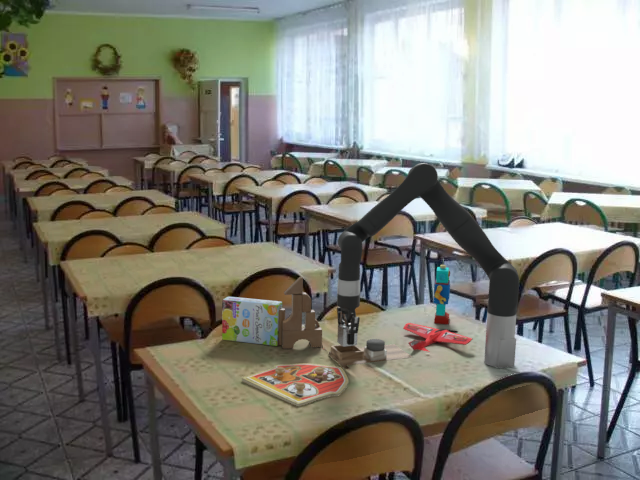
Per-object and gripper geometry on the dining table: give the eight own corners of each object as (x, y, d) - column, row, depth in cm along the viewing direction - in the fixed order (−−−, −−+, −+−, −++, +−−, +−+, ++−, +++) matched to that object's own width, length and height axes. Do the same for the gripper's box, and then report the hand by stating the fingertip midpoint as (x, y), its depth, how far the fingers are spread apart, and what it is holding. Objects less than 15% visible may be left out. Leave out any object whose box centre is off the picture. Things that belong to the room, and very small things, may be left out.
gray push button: (387, 358, 246) (387, 343, 245) (370, 360, 243) (371, 345, 242) (379, 352, 251) (379, 338, 250) (363, 354, 249) (363, 340, 248)
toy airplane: (482, 345, 266) (483, 331, 265) (448, 366, 244) (449, 351, 243) (415, 330, 281) (415, 317, 280) (377, 349, 259) (378, 335, 258)
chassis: (412, 360, 248) (413, 348, 247) (344, 368, 239) (345, 356, 239) (394, 347, 261) (394, 335, 260) (328, 354, 252) (329, 342, 251)
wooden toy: (318, 341, 266) (319, 272, 261) (322, 347, 259) (323, 277, 255) (275, 342, 263) (275, 273, 258) (277, 349, 257) (278, 278, 252)
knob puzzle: (237, 381, 229) (237, 367, 228) (308, 359, 249) (308, 346, 248) (303, 411, 208) (303, 395, 207) (373, 384, 229) (374, 370, 228)
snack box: (282, 342, 265) (283, 300, 262) (277, 347, 259) (277, 305, 256) (227, 335, 271) (227, 295, 268) (221, 340, 265) (221, 299, 263)
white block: (357, 345, 247) (357, 327, 246) (343, 346, 245) (343, 329, 244) (351, 340, 252) (351, 323, 250) (337, 342, 250) (337, 324, 249)
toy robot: (448, 325, 287) (451, 262, 283) (432, 324, 288) (435, 261, 284) (449, 317, 298) (452, 256, 294) (433, 316, 299) (436, 255, 295)
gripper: (368, 296, 240) (366, 347, 243) (350, 286, 253) (349, 334, 256) (346, 298, 237) (345, 349, 240) (329, 287, 250) (328, 336, 253)
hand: (347, 341), depth 248 cm, fingers closed on white block, 5 cm apart
